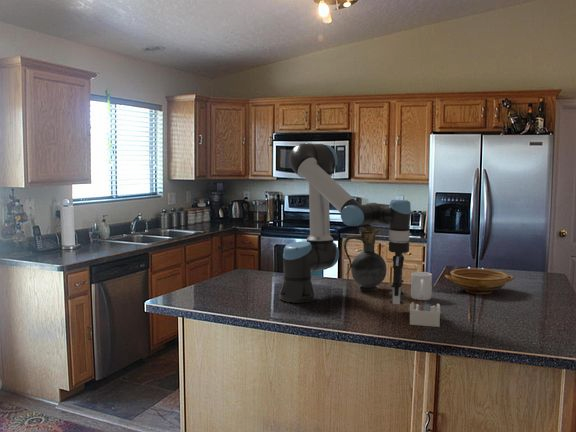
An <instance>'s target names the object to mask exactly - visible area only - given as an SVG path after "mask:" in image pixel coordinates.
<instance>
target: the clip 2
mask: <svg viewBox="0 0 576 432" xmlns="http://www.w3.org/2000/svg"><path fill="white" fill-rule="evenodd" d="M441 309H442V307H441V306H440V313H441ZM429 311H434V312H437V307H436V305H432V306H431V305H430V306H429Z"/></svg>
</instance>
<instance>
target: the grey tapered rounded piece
mask: <svg viewBox="0 0 576 432" xmlns="http://www.w3.org/2000/svg"><path fill="white" fill-rule="evenodd" d="M401 280H403V275H402V276H401V279H400V285H401V286H402V285H403V283H401ZM397 284H398V283H397ZM401 286H400V287H401ZM402 287H403V286H402ZM388 293H389V296H390V299H391V300H390V301H389V303H390V304H392V302H393V290H392V291H390V292H388ZM405 295H406V293H404V292H403V291H402V289H401V290H400V305H401V306H402V305H404V304H405V303H404V301H403V300H404V297H405ZM392 305H393V304H392ZM395 305H397V306H399V304H395Z"/></svg>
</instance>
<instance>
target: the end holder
mask: <svg viewBox="0 0 576 432" xmlns="http://www.w3.org/2000/svg"><path fill="white" fill-rule="evenodd" d="M410 304H411V308H410V307H409V325H410V326H423V327H435V328H436V327H437V328H440V325H441V324H440V323H441V320H440V319H441V312H440V307H441V306H440V305H441V304H440V303H436V308H437V312H434V311H430V310H421V309H420V310H416V309H415V301H412V302H411V303H410Z"/></svg>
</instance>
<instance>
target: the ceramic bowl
mask: <svg viewBox="0 0 576 432" xmlns="http://www.w3.org/2000/svg"><path fill="white" fill-rule="evenodd" d="M444 278H446V280H450V281H452V282H453V283H454V284H456V285H457V286H458V287H460V288H463V290H464V291H465V292H467V293H469V292H470V293H471V294H474V293H475V295H489V294H492V293H493V291H496V290H498V289H502V288H503V287H505V285H506V284H507V283H509V282H512V281H513V280H514V278H515V277H514V276H513V275H510V274H507V273H505V272H503V271H499V270H495V269H487V268H486V269H485V268H475V267H473V268H472V267H469V268H467V267H466V268H459V269H457V268H456V269H453V270H451V271H450V275H449V274H445V275H444Z"/></svg>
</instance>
